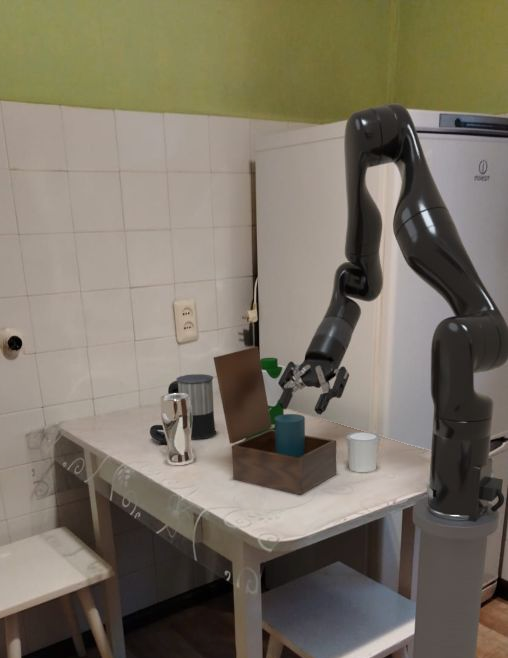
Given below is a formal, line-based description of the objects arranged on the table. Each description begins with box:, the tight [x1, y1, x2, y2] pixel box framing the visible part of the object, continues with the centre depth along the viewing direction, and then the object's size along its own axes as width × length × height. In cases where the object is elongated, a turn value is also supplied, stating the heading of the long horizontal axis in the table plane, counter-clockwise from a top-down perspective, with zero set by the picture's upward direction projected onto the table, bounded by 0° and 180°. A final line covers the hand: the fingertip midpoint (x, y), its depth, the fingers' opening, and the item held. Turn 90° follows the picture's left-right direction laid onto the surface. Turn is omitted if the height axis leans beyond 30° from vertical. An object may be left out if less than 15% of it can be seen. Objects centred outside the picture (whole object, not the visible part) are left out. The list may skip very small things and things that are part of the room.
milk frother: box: [149, 373, 217, 444], centre depth 160 cm, size 14×16×15 cm
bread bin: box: [231, 429, 337, 496], centre depth 132 cm, size 17×14×7 cm
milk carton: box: [245, 357, 287, 440], centre depth 155 cm, size 9×9×20 cm
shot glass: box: [346, 431, 381, 473], centre depth 135 cm, size 7×7×7 cm
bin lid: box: [213, 346, 272, 445], centre depth 133 cm, size 18×14×1 cm
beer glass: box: [159, 393, 195, 466], centre depth 143 cm, size 7×7×15 cm
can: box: [275, 413, 306, 458], centre depth 130 cm, size 6×6×12 cm
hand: (299, 409), depth 130 cm, fingers open, 8 cm apart
